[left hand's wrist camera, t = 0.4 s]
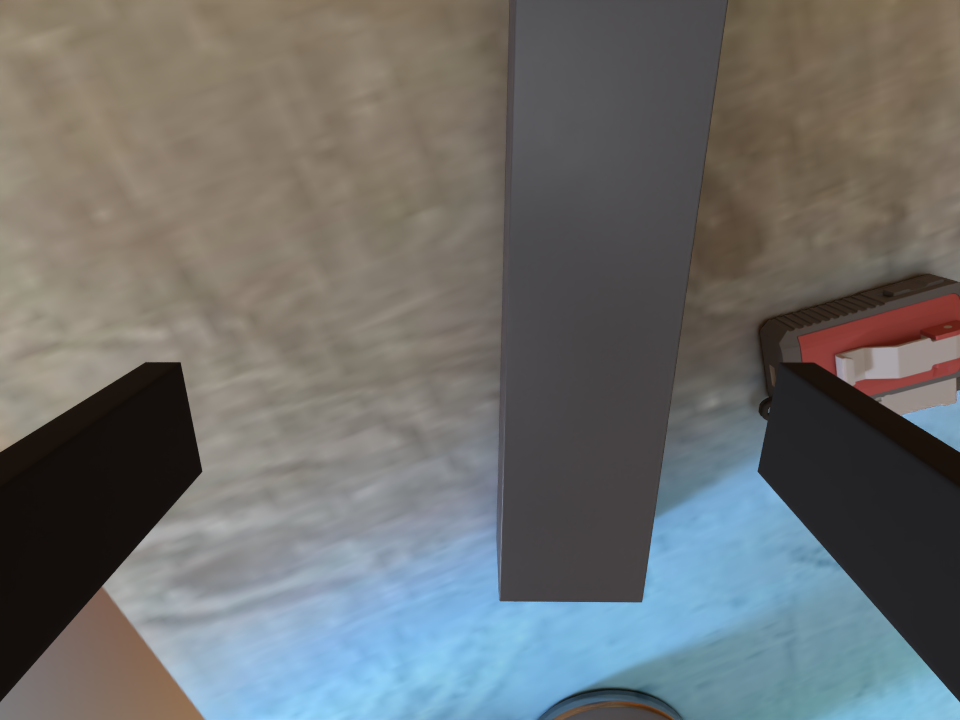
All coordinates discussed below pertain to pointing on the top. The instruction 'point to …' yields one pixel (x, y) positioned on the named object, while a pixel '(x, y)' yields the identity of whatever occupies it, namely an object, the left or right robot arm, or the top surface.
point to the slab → (595, 280)
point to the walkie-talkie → (878, 343)
